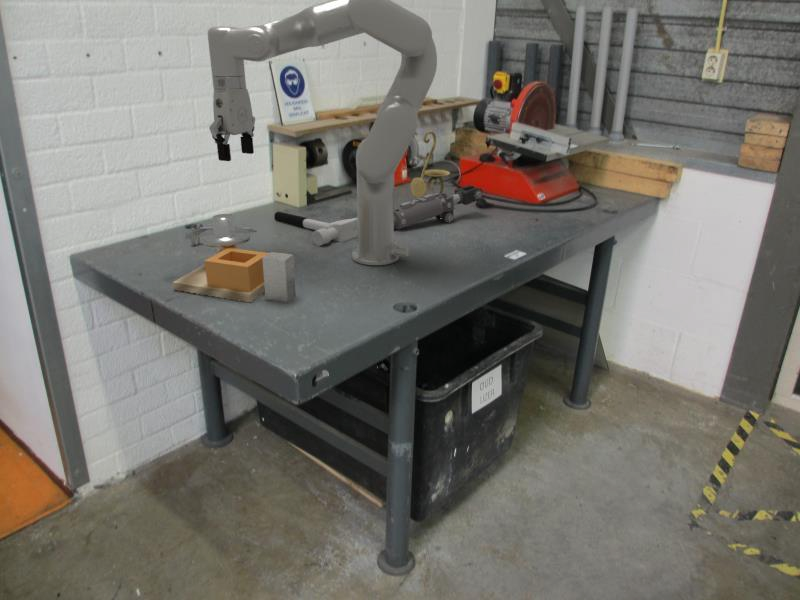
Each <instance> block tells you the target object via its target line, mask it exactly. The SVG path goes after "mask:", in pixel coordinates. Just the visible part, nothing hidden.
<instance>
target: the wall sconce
mask: <svg viewBox="0 0 800 600" xmlns="http://www.w3.org/2000/svg"><path fill="white" fill-rule="evenodd" d="M430 134H431V135H432V139H433V143H432V145H431V149H430V151H429V153H428V156H427V157H426V159H425V162H424V165H423V167H422V171H421V176H420V177H414V178H413V179H411V180H412V181H411V183H410V190H411V193H412V194H413V196H414V197H416V198H420V199H422V198H423V196H426V193H427V190H428V191H429V192H431V191H434V190H435V187H434V186H437V183H438V181H437V180H439V181H440V190H439V192H438V193H439V194H442V193H444V180H443V177H447V176H449V175H450V174H451V173H450V171H448V170H445V169H427V166H428V164H429V162H430V160H431V157H432V156H433V153H434V151H435V148H436V145H437V135H436V133H435V132H434V131H433V130H428V131H426V132H425V133H424V135H423V137H422V138H423V143H425V144H429V142H431V141H430V139H429V138H428V139H427V137H428V135H430ZM425 176H426V177H427V176H428V177H430V178H429V179H428V182H427V184H426V181H424V179H425ZM433 180H434V181H433ZM432 181H433V183H432ZM431 183H432V184H433V187H431Z"/></svg>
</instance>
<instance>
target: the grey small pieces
mask: <svg viewBox="0 0 800 600" xmlns="http://www.w3.org/2000/svg"><path fill="white" fill-rule="evenodd" d="M243 228H244V229H246V230H248V231H249V232H252V233H254V232H257V230H256V229H254V227H253V228H252V227H243ZM209 229H214V226H212V227H210V226H209V227H207V226H206V227H204V226H203V227H202V226H201V224H199V223H198V224H195V223H194V224H193V227H192V228H191V229H190V230H191V231H190V240H191V246H194V247H196V243H197V245H198V246H201V245H202V244H201V243H200V240H199V235H200V234H201V233H202V232H204V231H206V230H209ZM197 236H198V238H197Z"/></svg>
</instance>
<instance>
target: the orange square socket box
mask: <svg viewBox="0 0 800 600" xmlns="http://www.w3.org/2000/svg"><path fill="white" fill-rule="evenodd" d="M234 221H235V220H234V215H232V214H229V213H222V214H221V213H220V214H216V215H213V216H212V224H213V226H212V227H214V229H209V230H206V231H204V232H202V233H201V234H200V235H198V236H199V240H200V243H201V245H203V246H206V247H211V248H215V251H216V252H215V254H214V255H213V256H211V257H209V258H207V259H205V260H204V264H203V265H201V266H199V267H198V268H196V269H194V270H192V271H191V272H189V273H186V274H184V275H183V276H182V277H180V278H178V279H175V280H174V281H173V282H172V288H173V291H175V290H177V291H176V292H181V291H184V292H183V293H187V292H190V293H189V294H193V293H196V294H195V295H199V294H203V295H202V296H205V295H208V296H207V297H212V296H215V297H214V298H218V297H220V298H219V299H224V298H226V299H225V300H230V299H233V300H232V301H236V300H240V301H239V302H242V301H245V302H244V303H249V302H250V303H252V302H253V301H255V300H256V299H257V298H259V297H260V296H261V295H262V294H265V284H264V272H263V259H262V257H264V256H266V255H267V254H269V253H270V252H264V251H256V250H249V249H242V248H241V249H240V248H237V246H239V245H243V244H245V243H247V242H249V241H250V239H251V233H250V232H249V231H248V230H246V229H244V228H245V227H239V226H237V227H236V226H235V223H234Z"/></svg>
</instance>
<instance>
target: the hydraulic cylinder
mask: <svg viewBox="0 0 800 600" xmlns="http://www.w3.org/2000/svg"><path fill="white" fill-rule="evenodd" d="M439 193H440V192H439V191H438V192H436V193H429V194H427V195H426V194H425V195H424V196H423V198H422V199H421V198H418V197H416V200H415V199H413V200H412V201H406V202H403V203H400V204H399V207H400V208H397V209H394V229H395V228H396V229H395V230H397V229H398V230H401V229H404V228H407V227H409V226H411V225H415V224H417V223H418V224H419V223H421V222H424V221H426V220H429V219H431V218H434V217H435V218H436V220H439V219H440V218H442V220H441V221H443V222H444V223H446V222H449V221H451V222H452V221H453V220H456V219H457V218H456V217H455V215H454V210H455V207H454V206H455V205H456V204H457V205H461V204H462V205H465V206H467V205H471V203H474V202H477V201H480V200H481V199H482V198H483V195H484V192H483V189H482V188H481V187H475V186H474V185H471V184H468V185H464V186H462V187H460V188H456V189H454V194H449V193H446V192H442V194H439ZM398 230H397V231H398Z"/></svg>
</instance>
